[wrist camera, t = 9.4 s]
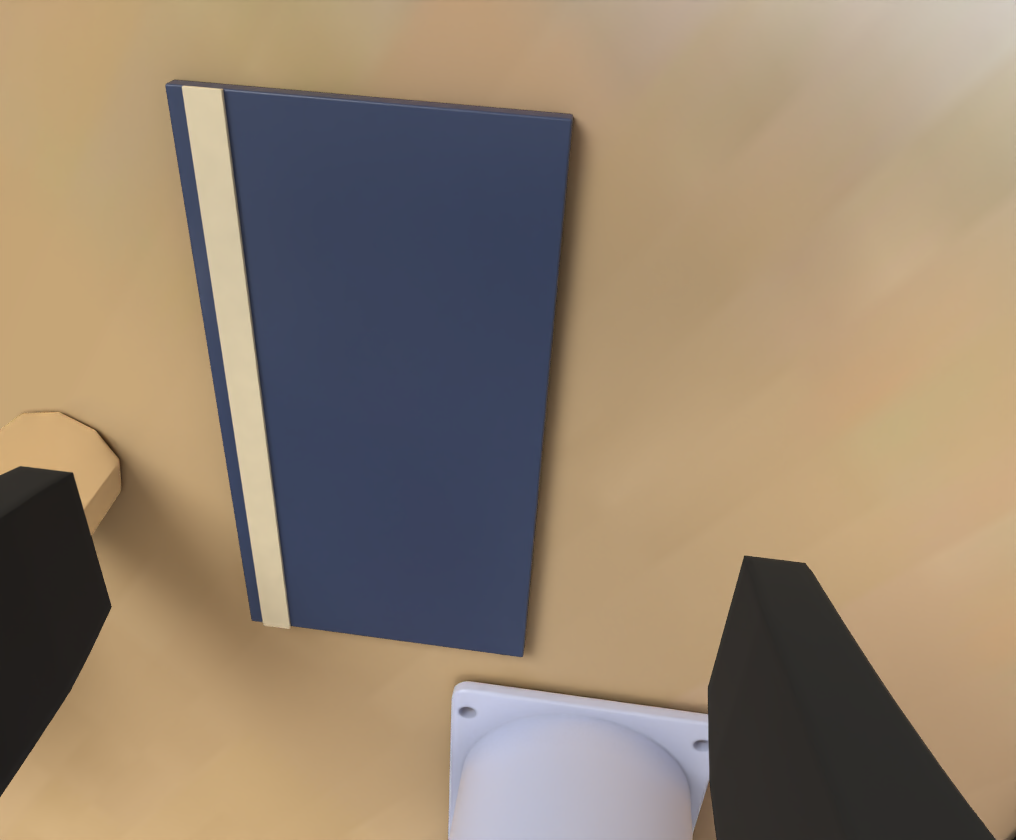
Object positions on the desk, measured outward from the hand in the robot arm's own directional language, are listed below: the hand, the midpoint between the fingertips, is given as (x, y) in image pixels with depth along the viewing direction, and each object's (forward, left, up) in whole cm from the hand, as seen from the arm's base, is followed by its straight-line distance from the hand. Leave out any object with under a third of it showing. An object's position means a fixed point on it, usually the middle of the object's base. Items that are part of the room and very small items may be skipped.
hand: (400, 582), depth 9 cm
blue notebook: (-5, +3, -10) cm, 12 cm away
